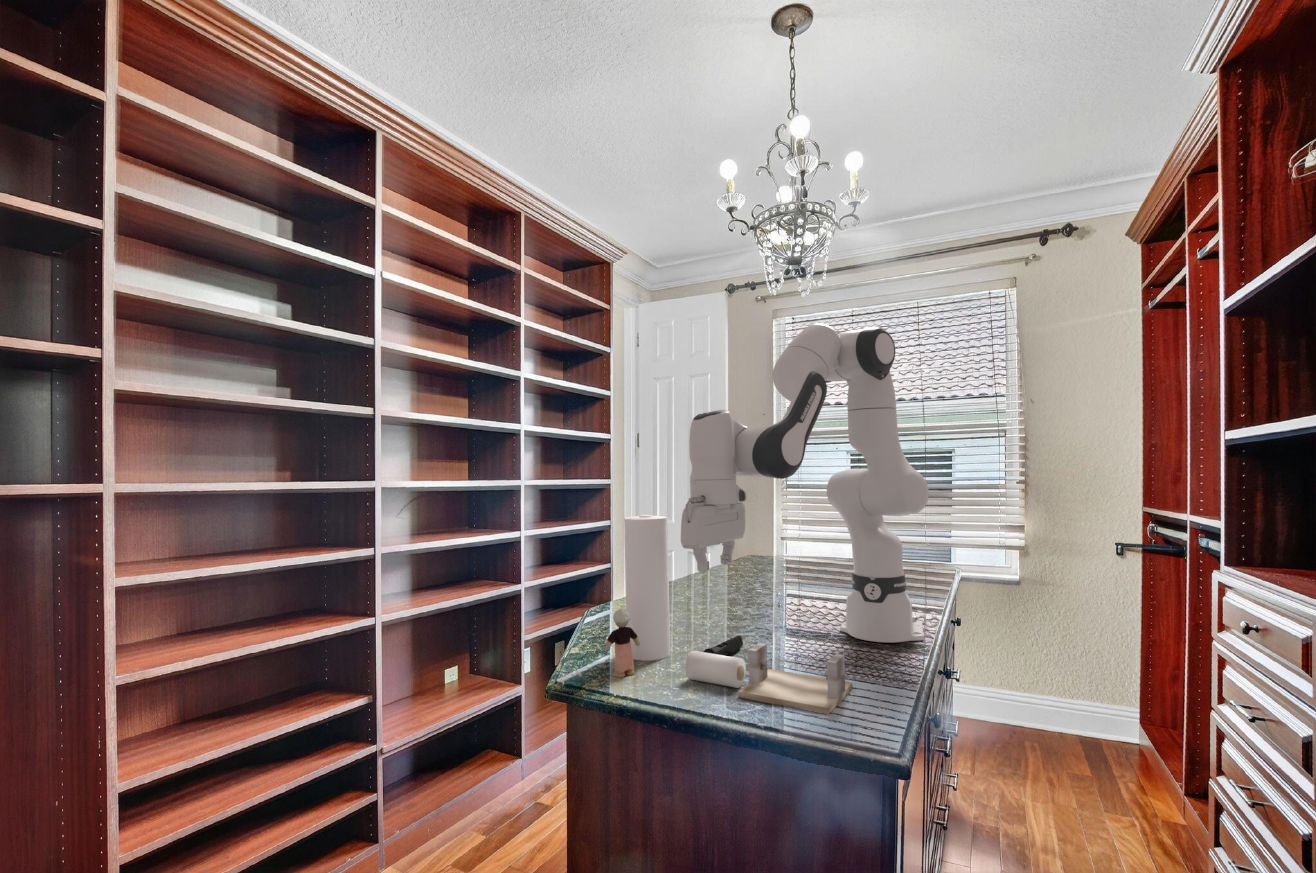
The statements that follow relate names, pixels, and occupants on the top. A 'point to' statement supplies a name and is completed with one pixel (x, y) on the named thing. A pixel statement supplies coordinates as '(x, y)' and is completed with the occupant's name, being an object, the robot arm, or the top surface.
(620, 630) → the grandmother figurine
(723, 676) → the paper roll
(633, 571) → the cylinder container
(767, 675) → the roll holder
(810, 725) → the top surface
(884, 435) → the robot arm
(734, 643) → the electric trimmer
